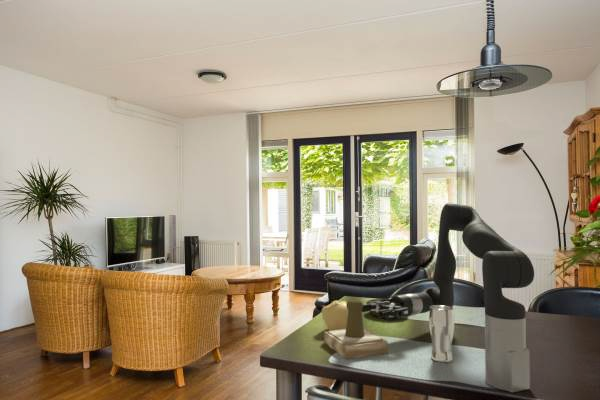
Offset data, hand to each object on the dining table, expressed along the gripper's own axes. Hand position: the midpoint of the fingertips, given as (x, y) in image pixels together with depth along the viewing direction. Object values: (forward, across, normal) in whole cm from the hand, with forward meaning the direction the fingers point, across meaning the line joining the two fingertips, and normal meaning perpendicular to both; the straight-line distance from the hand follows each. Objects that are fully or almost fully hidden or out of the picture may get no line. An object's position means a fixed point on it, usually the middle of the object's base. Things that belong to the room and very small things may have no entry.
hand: (370, 311), depth 137 cm
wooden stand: (+6, 0, +11) cm, 12 cm away
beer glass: (-9, +21, +11) cm, 25 cm away
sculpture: (-1, -17, +11) cm, 20 cm away
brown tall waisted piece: (+6, 0, +7) cm, 9 cm away
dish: (-32, -26, +11) cm, 42 cm away
